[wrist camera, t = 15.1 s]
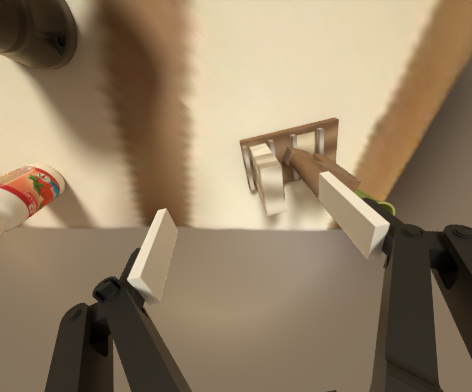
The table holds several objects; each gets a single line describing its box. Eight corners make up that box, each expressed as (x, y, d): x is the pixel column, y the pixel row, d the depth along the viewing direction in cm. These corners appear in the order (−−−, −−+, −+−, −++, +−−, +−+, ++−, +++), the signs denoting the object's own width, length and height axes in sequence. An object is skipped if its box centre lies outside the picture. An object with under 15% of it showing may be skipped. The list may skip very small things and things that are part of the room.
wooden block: (319, 168, 50) (363, 208, 35) (281, 159, 48) (311, 198, 33) (326, 155, 48) (375, 191, 33) (287, 145, 46) (321, 179, 31)
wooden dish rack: (239, 140, 48) (248, 165, 35) (334, 117, 47) (381, 134, 34) (249, 187, 56) (259, 223, 42) (331, 168, 55) (368, 198, 41)
